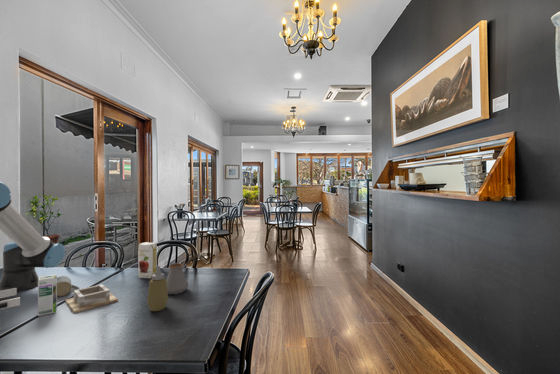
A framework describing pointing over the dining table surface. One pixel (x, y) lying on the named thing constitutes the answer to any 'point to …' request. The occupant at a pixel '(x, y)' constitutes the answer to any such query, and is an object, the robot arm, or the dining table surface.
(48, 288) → the syrup box
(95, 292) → the collar socket
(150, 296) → the squeeze bottle
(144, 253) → the juice carton
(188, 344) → the dining table surface
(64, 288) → the grey tan cylinder
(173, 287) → the coffee pot
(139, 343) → the dining table surface
